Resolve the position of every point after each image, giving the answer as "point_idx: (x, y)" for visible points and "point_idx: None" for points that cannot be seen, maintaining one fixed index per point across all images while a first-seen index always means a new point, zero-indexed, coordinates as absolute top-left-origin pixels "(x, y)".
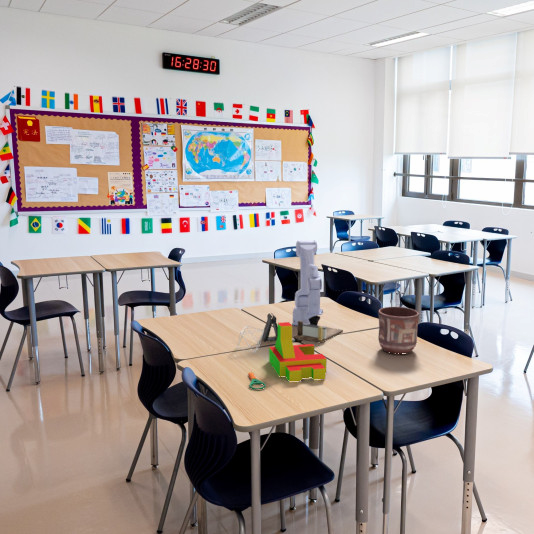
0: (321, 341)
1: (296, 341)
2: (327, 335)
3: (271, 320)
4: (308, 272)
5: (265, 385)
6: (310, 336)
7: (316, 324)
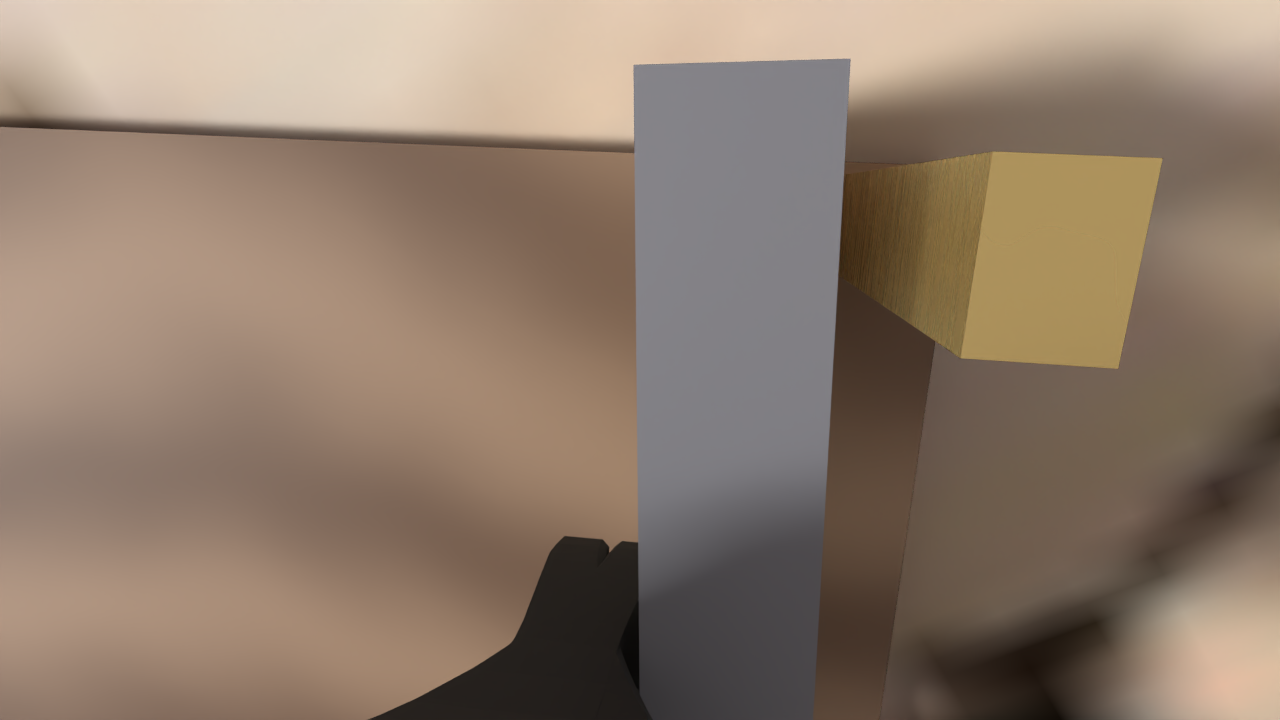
0: None
1: (1071, 716)
2: (392, 247)
3: None
4: None
5: None
6: None
7: (597, 651)
